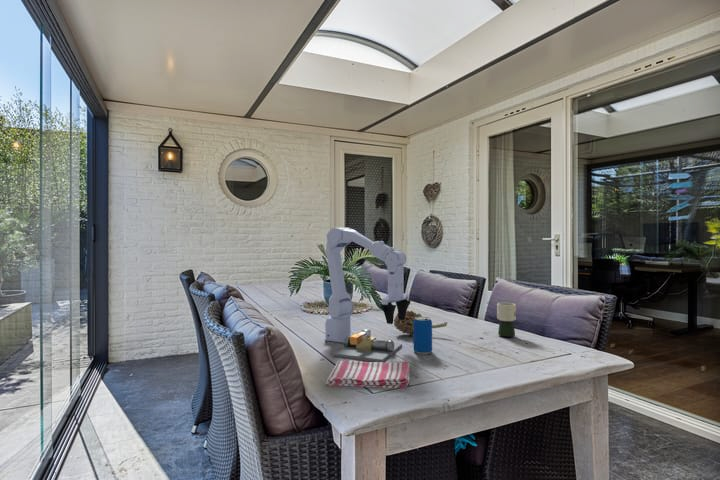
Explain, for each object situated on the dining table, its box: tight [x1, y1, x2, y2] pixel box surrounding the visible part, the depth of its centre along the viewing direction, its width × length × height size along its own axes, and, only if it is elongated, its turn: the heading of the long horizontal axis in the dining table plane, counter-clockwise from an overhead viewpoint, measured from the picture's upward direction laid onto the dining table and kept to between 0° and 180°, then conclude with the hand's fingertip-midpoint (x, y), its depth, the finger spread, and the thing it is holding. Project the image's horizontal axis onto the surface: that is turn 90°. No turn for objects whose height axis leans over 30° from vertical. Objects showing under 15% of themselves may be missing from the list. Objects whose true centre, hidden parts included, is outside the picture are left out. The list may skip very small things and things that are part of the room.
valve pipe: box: [343, 336, 395, 352], centre depth 147 cm, size 18×5×4 cm, turn 66°
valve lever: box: [350, 328, 372, 345], centre depth 143 cm, size 12×3×2 cm, turn 156°
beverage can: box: [412, 316, 433, 355], centre depth 145 cm, size 6×6×12 cm
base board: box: [332, 342, 403, 363], centre depth 147 cm, size 18×20×1 cm
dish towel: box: [325, 360, 411, 389], centre depth 122 cm, size 17×23×4 cm
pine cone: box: [393, 310, 449, 336], centre depth 168 cm, size 22×10×10 cm, turn 81°
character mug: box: [496, 302, 517, 338], centre depth 165 cm, size 11×7×13 cm, turn 177°
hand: (395, 321), depth 149 cm, fingers open, 7 cm apart
